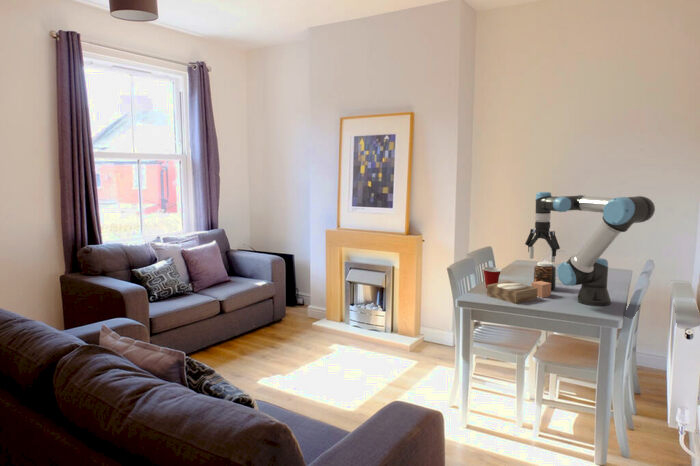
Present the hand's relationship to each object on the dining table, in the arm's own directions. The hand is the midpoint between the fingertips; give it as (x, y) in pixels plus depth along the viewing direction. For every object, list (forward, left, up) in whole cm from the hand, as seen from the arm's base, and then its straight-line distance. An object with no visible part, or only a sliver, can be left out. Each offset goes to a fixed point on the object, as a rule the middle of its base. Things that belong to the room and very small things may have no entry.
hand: (541, 260), depth 263 cm
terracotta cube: (0, 0, -19) cm, 19 cm away
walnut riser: (+6, +16, -19) cm, 26 cm away
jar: (+9, -14, -20) cm, 25 cm away
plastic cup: (+26, +10, -19) cm, 34 cm away
